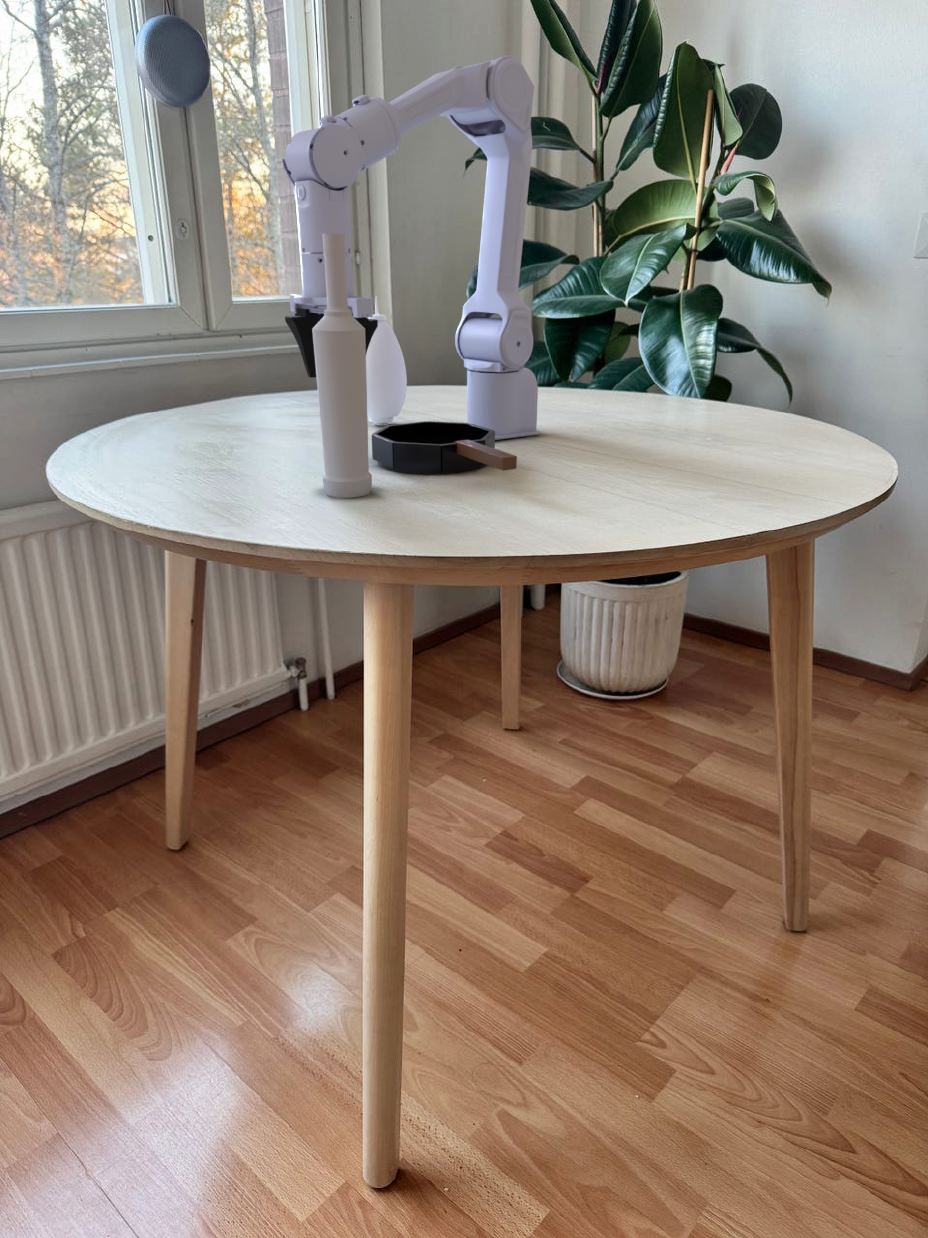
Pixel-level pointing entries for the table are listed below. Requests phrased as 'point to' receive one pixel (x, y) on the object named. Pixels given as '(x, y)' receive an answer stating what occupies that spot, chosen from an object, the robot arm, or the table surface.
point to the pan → (438, 448)
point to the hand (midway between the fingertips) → (333, 380)
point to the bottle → (341, 383)
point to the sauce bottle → (384, 373)
